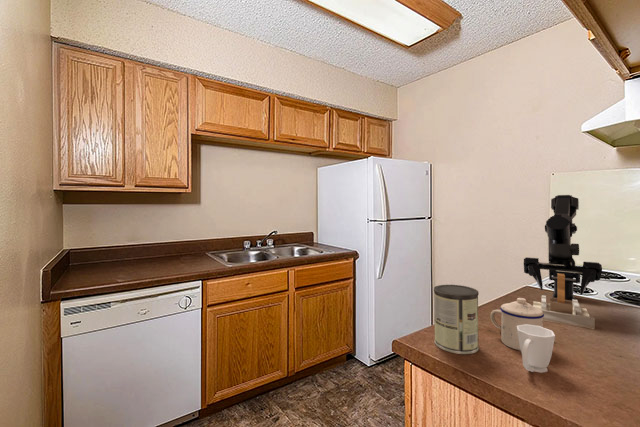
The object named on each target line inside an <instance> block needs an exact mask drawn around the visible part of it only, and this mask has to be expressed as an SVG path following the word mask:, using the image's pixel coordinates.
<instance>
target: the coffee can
mask: <svg viewBox="0 0 640 427" xmlns="http://www.w3.org/2000/svg"><path fill="white" fill-rule="evenodd" d="M433 292H434V293H433V295H434V296H433V298H434V299H433V301H434V305H433V306H434V308H433V309H434V310H433V311H434V345H436V347H438V348H439V349H440V350H443V351H445V352H448V353H451V354H452V353H453V354H458V355H471V354H475V353H477V352H478V351H479V350H480V349H479V292H480V291H479V290H478V289H476V288H473V287H470V286H465V285H461V284H459V285H458V284H439V285H436V286H434V287H433Z"/></svg>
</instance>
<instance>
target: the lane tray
mask: <svg viewBox="0 0 640 427" xmlns="http://www.w3.org/2000/svg"><path fill="white" fill-rule="evenodd" d="M571 301H572V305H573V314H567V313H560V312H554V311H550V302H548V303H547V295H541V302H540V301H532V306H534V307H536V308H539V309H540V310H542V312H543V314H544V317H543V322H544V321H545V322H551V323H556V324H557V323H558V324H562V325H569V326H573V327H574V326H575V327H581V328H584V329H585V328H586V329H592V330H596V329H595V327H596V325H595V324H596V323H595V321H596V319H595V317H592V316H590V314H589V311H588V310H587V308H584V307H583V308H582V307H580V303H579V301H578V299H575V300H574V299H571Z"/></svg>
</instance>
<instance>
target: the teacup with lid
mask: <svg viewBox="0 0 640 427" xmlns="http://www.w3.org/2000/svg"><path fill="white" fill-rule="evenodd" d="M496 313H497V314H501V320H500V322H501V325H500V324H499V323H498V322H497V321H496V318H495V316H496V315H495V314H496ZM489 317H490V321H491V323H492V325H493V326H495V328H497V329H499V330H500V331H501V338H500V339H501V342H502V343H503V344H504V345H505V346H506V347H508V348H510V349H513V350H516V351H519V352H521V349H520V343H519V336H518V331H517V326H518V325H525V324H528V325H535V326H541V327H543V326H544V320H543V317H544V314H543V312H542V310H540V309H539V308H536V307H534V306H533V304H531V303H529V302H527V299H526V298H523V297H518V298H516V301H511V302H508V303H503V304H501V305H500V308H499V309H494V310H491V312H490V316H489ZM543 328H544V327H543Z"/></svg>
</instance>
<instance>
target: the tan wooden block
mask: <svg viewBox="0 0 640 427" xmlns="http://www.w3.org/2000/svg"><path fill="white" fill-rule="evenodd" d="M549 301H550V302H549V304H550V311H554V312H560V313H567V314H573V305H572V300H570V299H565V275H564V274H559V273H557V297H556V298H555V297H550V299H549Z"/></svg>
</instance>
